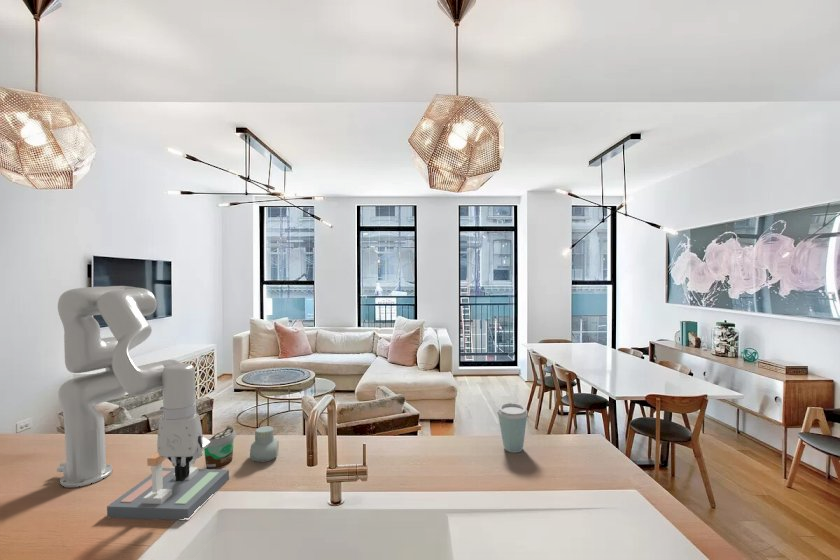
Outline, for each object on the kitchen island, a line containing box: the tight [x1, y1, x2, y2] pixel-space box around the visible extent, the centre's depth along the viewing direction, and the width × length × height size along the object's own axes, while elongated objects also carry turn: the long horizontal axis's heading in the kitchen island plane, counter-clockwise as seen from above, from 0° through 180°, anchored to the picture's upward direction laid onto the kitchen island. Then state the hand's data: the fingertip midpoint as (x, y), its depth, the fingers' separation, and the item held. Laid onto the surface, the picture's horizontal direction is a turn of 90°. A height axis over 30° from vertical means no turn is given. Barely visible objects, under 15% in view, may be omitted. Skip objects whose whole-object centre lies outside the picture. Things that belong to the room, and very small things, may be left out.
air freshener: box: [249, 425, 280, 463], centre depth 139 cm, size 11×8×10 cm
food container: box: [203, 425, 237, 469], centre depth 136 cm, size 12×6×10 cm, turn 168°
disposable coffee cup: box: [496, 402, 528, 453], centre depth 145 cm, size 11×11×15 cm
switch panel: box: [106, 466, 230, 521], centre depth 116 cm, size 22×20×4 cm
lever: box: [189, 437, 210, 469], centre depth 122 cm, size 2×4×10 cm
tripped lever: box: [146, 451, 167, 492], centre depth 110 cm, size 2×4×10 cm, turn 176°
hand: (182, 478), depth 110 cm, fingers closed
